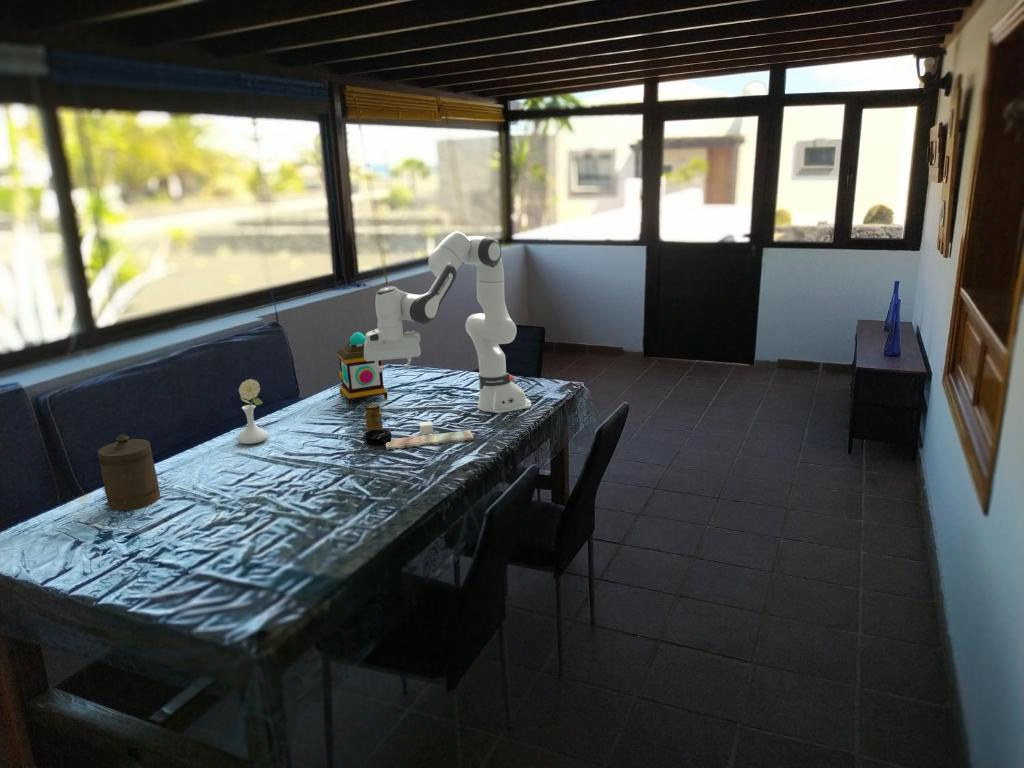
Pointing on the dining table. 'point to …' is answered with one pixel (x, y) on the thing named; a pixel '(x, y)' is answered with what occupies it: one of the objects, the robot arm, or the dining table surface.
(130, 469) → the wooden container
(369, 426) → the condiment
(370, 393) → the decorative lantern
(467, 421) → the dining table surface
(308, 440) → the dining table surface
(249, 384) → the flower in vase
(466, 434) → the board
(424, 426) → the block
